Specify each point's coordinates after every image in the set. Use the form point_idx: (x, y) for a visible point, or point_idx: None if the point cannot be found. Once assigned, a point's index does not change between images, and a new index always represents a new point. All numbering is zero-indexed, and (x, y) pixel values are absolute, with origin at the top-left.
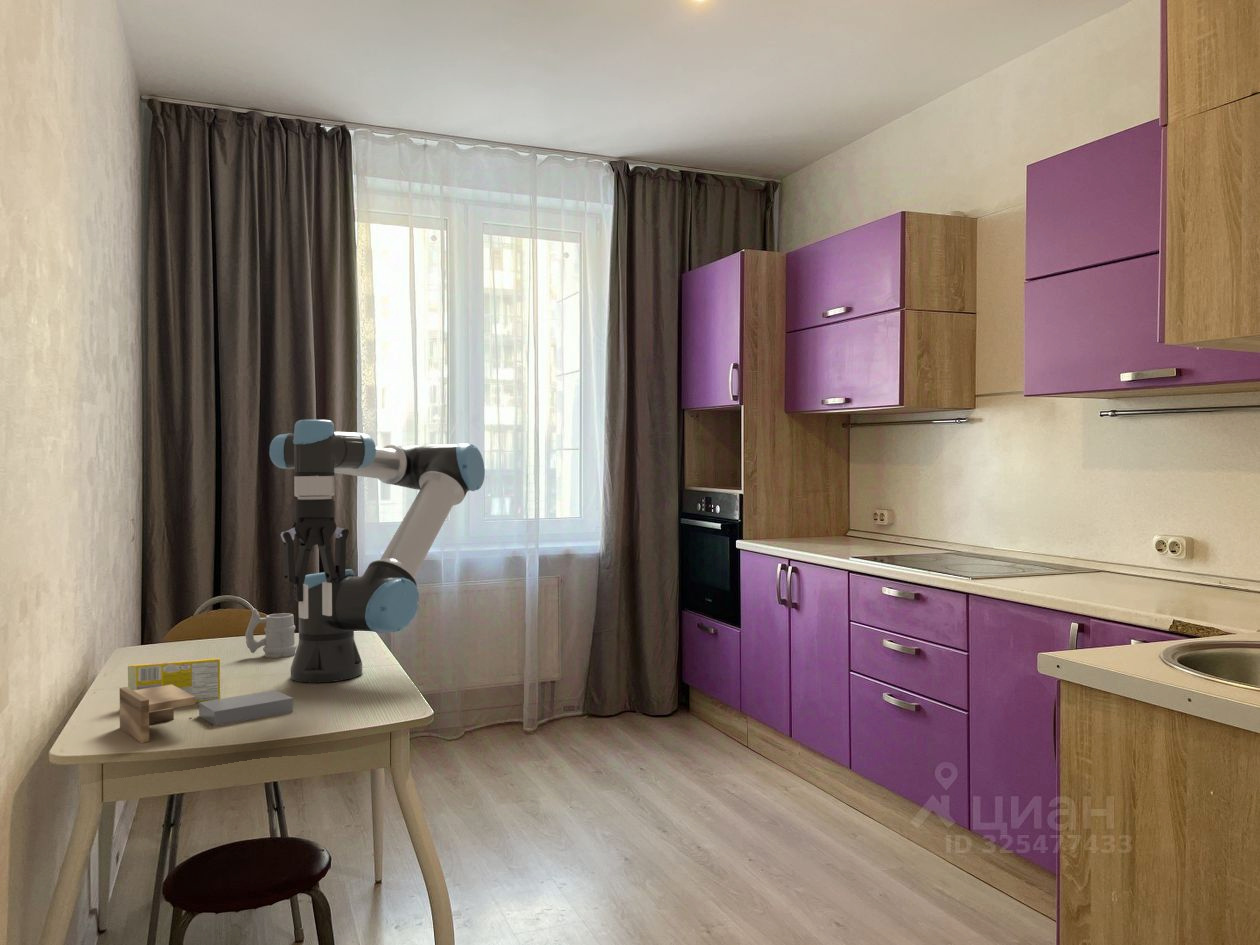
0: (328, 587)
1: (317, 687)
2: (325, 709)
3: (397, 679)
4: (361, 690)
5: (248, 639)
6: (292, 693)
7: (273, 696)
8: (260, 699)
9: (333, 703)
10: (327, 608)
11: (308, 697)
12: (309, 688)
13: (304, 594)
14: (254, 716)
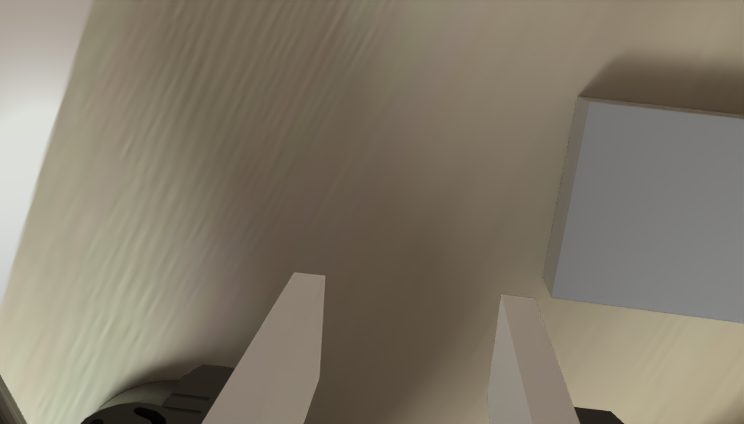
0: (255, 414)
1: None
2: (473, 23)
3: (28, 242)
4: (215, 193)
5: None
6: (421, 355)
7: (623, 195)
8: (688, 189)
9: (399, 89)
10: (312, 317)
11: (413, 254)
12: (338, 374)
13: (577, 417)
14: (739, 115)
